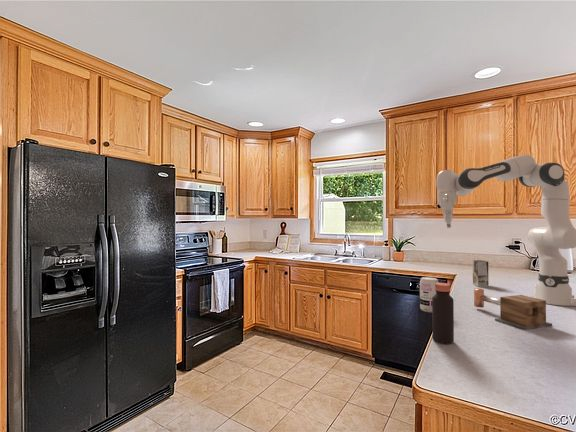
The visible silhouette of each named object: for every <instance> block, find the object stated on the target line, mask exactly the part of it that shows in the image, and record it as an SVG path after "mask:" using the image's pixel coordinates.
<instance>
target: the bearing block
mask: <svg viewBox="0 0 576 432" xmlns="http://www.w3.org/2000/svg"><path fill="white" fill-rule="evenodd" d="M499 299H500V305H499V306H500V313H499V314H500V317H497V318H494V321H495V322H498V323H501V322H502V323H501V324H505V325H508V326H511V327H514V328H516V329H519V330H522V331H526V330H530V329H531V330H533V329H538V328H545V327H546V328H547V327H551V326H553V323H550V322H548V321H547V304H546V300H541V299H537V298H532V296H527V295H524V294H518V295H506V296H500V298H499Z"/></svg>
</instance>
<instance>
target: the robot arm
mask: <svg viewBox="0 0 576 432" xmlns="http://www.w3.org/2000/svg"><path fill="white" fill-rule="evenodd" d="M564 169H565V168H564V167H563V165H561V164H560V163H558V162H546V163H540V164H537V162H536V159H534V157H533V156H532V155H529V154H524V155H523V154H522V155H516V156H512V157H509V158H505V159H503V160H501V161H499V162H497V163H493V164H491V165H487V166H484V167H478V168H477V167H476V168H473V167H469V168H465V169H463V171H461V173H460V174H458V173H456V172H454V171H453V169H443V170H441V171H440V172H438V173H437V175H436V190H437V194H436V197H437V205H439V206H440V208H441V211H442V216H443V220H444V222H445V223H446V228H447V229H451V228H452V226H451V224H452V221H453V210H454V208H455V205H456V204H457V202H458V201H457V200H458V199H457V196H467V195H469V194H470V193H471V192H473V191H474V190H475V189H476V188H477V187H479V186H480V185H481V184H482V183H484V181H487V180H490V179H493V178H495V179H497V180H498V181H500V182H509V181H512V180H515V179H518V181H519V183H520V184H521V185H522V186H524V187H528V188H534V187H540V189H541V192H542V193H541V203H540V215H541V216H542V218H544V219H545V221H546V222H547V226H537V227H533V228H531V229H530V230H528V233H527V240H528V241H529V243H530V244H531V245H532V246H533V247H534V248H535V251H536V254H537V257H538V262H539V266H538V267H539V268H538V269H539V273H538V276H537V277H538V282H536V283H535V284H534V295H533V296H531V297H532V298H537V299H541V300H546V305H553V306H554V305H555V306H562V307H563V306H567V307H576V298H575V295H573V288H572V287H571V286H570V284H569V283H570V279H569V278H570V277H569V276H568V260H567V259H566V258H565V257H564V256H563V255H562V254H561V252H560V250H562V249H563V250H569V249H575V248H576V228H575V226H574V225H573V223H572V221H571V217H570V188H569V187H570V186H569V182H567V181H568V180H565V178H566V176H565V175H566V174H565V170H564ZM559 249H560V250H559Z"/></svg>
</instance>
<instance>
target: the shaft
mask: <svg viewBox="0 0 576 432" xmlns="http://www.w3.org/2000/svg"><path fill="white" fill-rule="evenodd" d="M485 302H487V303H490V304H492V305H497V306H500V298H496V297H492V296H488V295H485V290H484V288H483V289H482V288H473V304H474V305H473V306H474V307H476V308H485Z"/></svg>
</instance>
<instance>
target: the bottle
mask: <svg viewBox="0 0 576 432" xmlns="http://www.w3.org/2000/svg"><path fill="white" fill-rule="evenodd" d="M435 291H436V294H435V295H434V296H433V297H432V315H431V316H432V317H431V318H432V320H431V321H432V325H431V326H432V330H431V331H432V332H431V333H432V340H433V342H436V343H438V344H442V343H443V344H444V345H451V343H452V344H453V343H454V341H455V340H454V339H455V337H454V336H455V334H454V333H455V332H454V331H455V330H454V326H455V322H454V319H455V317H454V315H455V313H454V310H455V309H454V305H455V304H454V302H455V301H454V298H453V297H452V296H451V294H450V293H451V284H450V283H445V282H439V283H435ZM443 344H442V345H443Z"/></svg>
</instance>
